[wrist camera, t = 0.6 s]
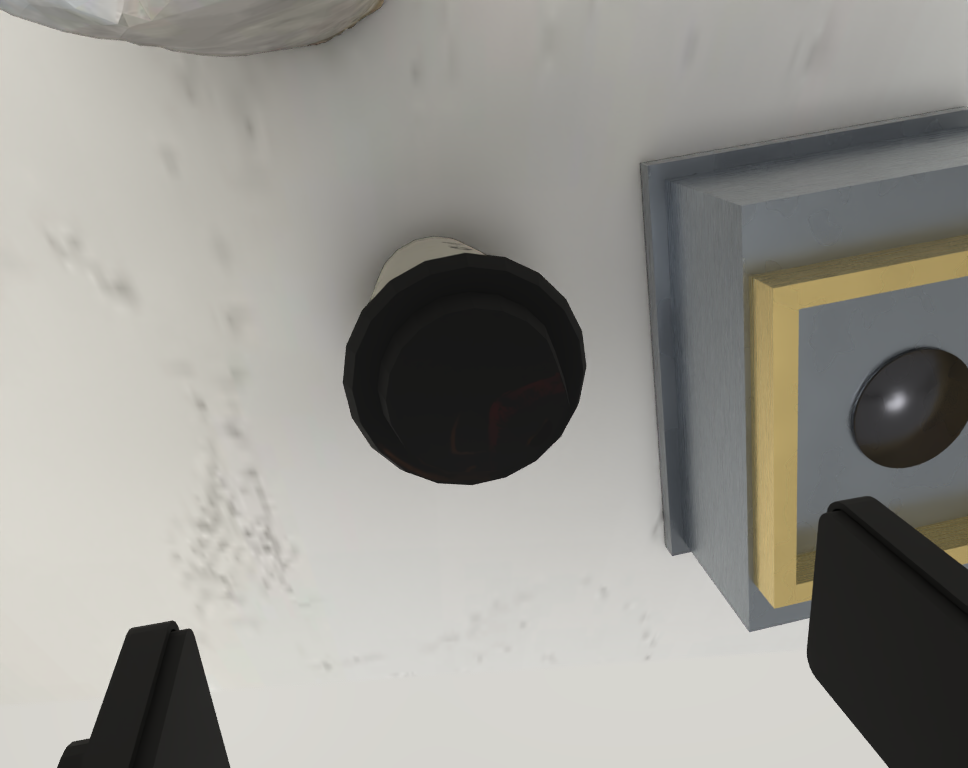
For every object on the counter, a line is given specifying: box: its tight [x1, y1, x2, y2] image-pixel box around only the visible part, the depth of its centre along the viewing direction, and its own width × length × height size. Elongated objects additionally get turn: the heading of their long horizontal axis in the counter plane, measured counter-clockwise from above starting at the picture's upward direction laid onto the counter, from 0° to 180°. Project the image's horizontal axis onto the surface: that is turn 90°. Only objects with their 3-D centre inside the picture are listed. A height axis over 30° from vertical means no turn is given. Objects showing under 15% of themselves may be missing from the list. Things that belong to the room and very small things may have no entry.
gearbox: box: [640, 107, 968, 632], centre depth 30 cm, size 17×15×8 cm
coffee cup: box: [343, 236, 586, 485], centre depth 26 cm, size 7×7×10 cm
